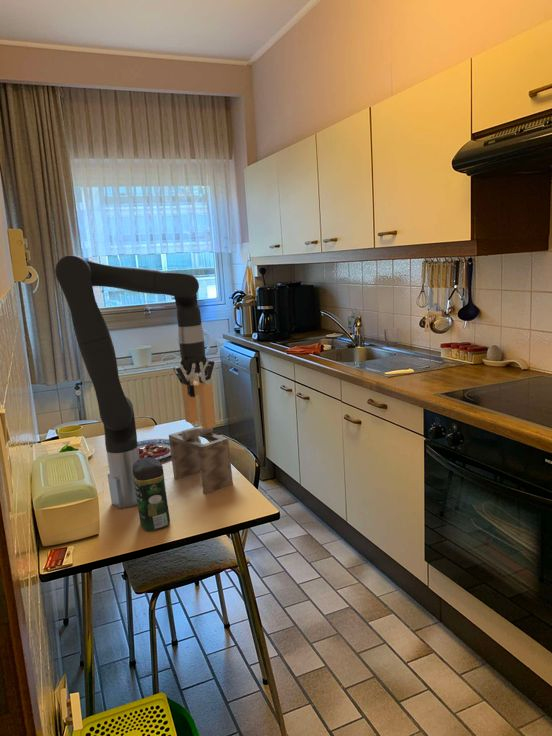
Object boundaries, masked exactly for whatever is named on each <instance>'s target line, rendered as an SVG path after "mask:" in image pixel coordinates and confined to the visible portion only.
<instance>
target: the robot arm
mask: <svg viewBox="0 0 552 736" xmlns="http://www.w3.org/2000/svg"><path fill="white" fill-rule="evenodd" d="M54 271H55V272H54V273H55V278H56V279H57V282H58V284H59V286H60V288H61V290H62V292H63V295H64V297H65V299H66V303H67V305H68V308H69V312H70V316H71V322H72V326H73V329H74V335H75V337H76V342H77V345H78V348H79V351H80V354H81V358H82V361H83V363H84V367H85V368H86V371H87V374H88V376H89V378H90V380H91V383H92V385H93V388H94V392H95V397H96V400H97V405H98V411H99V417H100V419H101V422H102V423H103V429H104V441H105V443H104V445H105V451H106V457H107V464H108V470H109V473H108V474H107V481H108V487H109V495H110V502H111V504H113V506H115V507H116V508H118V509H124V508H130V507H134V506H135V507H136V506H138V504H137V498H136V492H135V484H134V477H133V464H134V463H135V462H136V461H137V460H138V459H139V451H138V444H137V442H138V437H137V436H138V435H137V427H136V421H135V420H136V419H135V418H136V417H135V412H134V407H133V403H132V401H131V400H130V398H129V397H127V396H126V394H125V393H124V389H123V387H122V384H121V381H120V377H119V369H118V367H119V366H118V362H117V361H118V360H117V355H116V350H115V347H114V342H113V340H112V336H111V333H110V331H109V328H108V325H107V322H106V321H105V319H104V317H103V314H102V312H101V310H100V308H99V305H98V303H97V300H96V297H95V293H94V288H93V287H105V288H106V287H107V288H113V289H114V288H115V289H120V290H125V291H130V292H135V293H141V294H142V293H143V294H152V295H166V296H171V297H172V296H173V298H174V300H175V301H174V302H175V305H176V306H175V307H176V317H177V318H176V319H177V320H176V321H177V333H178V334H177V335H178V336H177V337H178V344H179V353H180V358H181V361H180V364H179V365H178V366H174V367H173V371H174V374H175V376H176V377H177V379H178V380H179V382H180V384H181V385H182V384H185V385H187V390H188V395H189V396H190V397H195V393H194V385H193V381H195V379H194V378H195V375H196V376H197V380H198V382H201V383H205V384H206V382H207V381H208V380H211V378H212V374H213V371H214V368H215V367H214V366H215V361H214V360H210V359H208V358H207V357H206V348H205V347H206V346H205V337H204V336H205V335H204V330H203V327H202V326H203V325H202V314H201V310H200V307H199V305H198V295H197V293H199V288H200V284H199V281H198V279H197V278H196V277H195V276H194V275H192V274H190V273H182V272H171V271H168V272H167V271H162V270H159V269H153V268H152V269H151V268H144V267H133V266H117V265H116V266H115V265H108V264H104V263H100V262H99V263H98V262H94V261H91V260H88V259H84V258H83V257H81V256H79V255H76V254H75V255H74V254H67V255H64V256H62V257H61V258H60V259H59V260H58V261H57V262H56V265H55V268H54ZM204 367H205V368H204ZM184 370H185V373H184Z"/></svg>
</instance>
